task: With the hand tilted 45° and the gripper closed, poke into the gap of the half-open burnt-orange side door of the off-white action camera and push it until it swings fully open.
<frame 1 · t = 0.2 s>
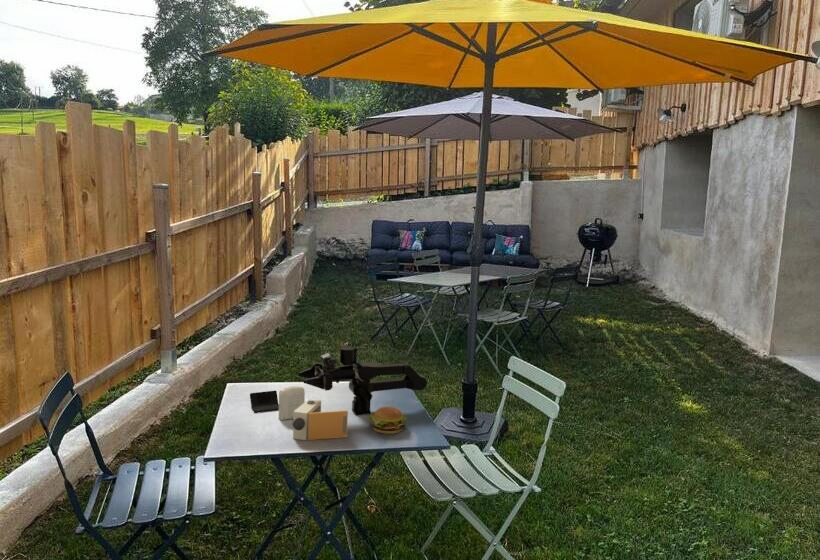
hand: (300, 377, 237), 16 cm above the table, tool horizontal, fingers open, 9 cm apart
food: (386, 429, 234), on the table
action camera: (307, 431, 228), on the table
side door: (327, 425, 221), point 5 cm above the table, hinge at 60.0°
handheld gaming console: (265, 408, 250), on the table
cream rounded slab: (291, 417, 241), on the table
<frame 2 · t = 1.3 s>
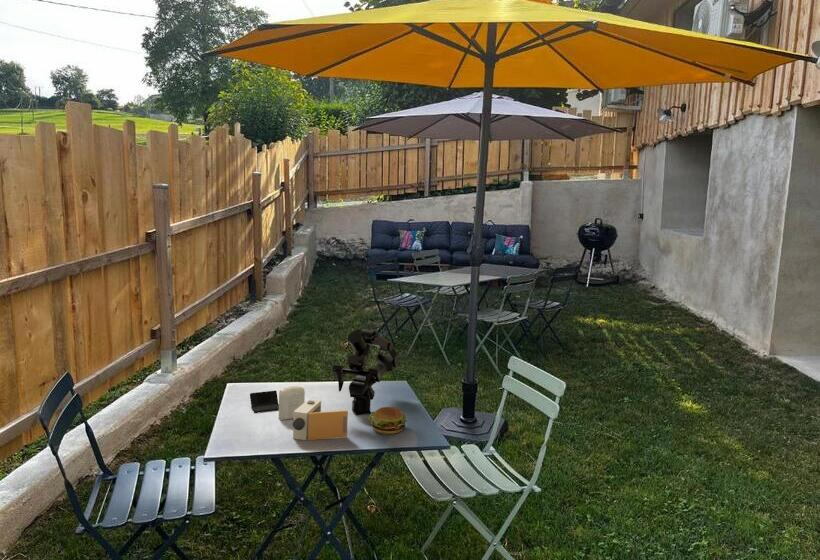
hand: (350, 392, 235), 13 cm above the table, tool tilted 45°, fingers open, 9 cm apart
nothing on the table moved.
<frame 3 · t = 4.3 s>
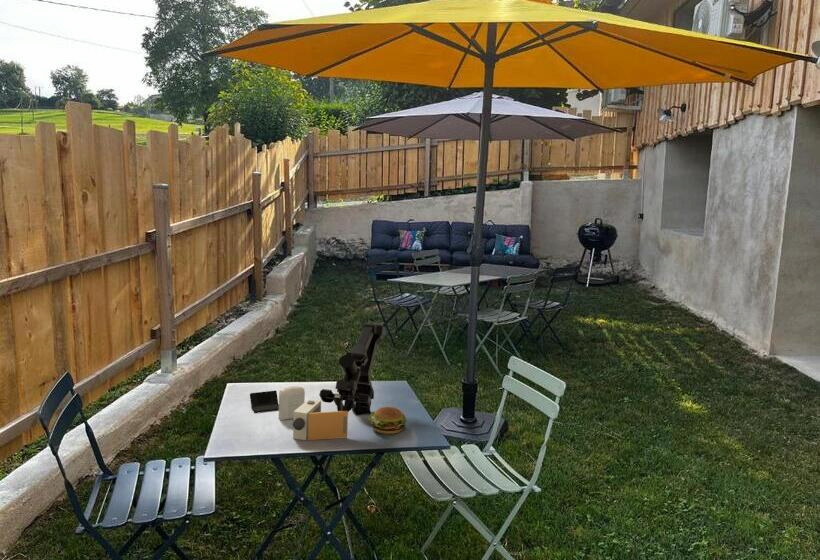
hand: (339, 419, 223), 7 cm above the table, tool tilted 45°, fingers closed
side door: (327, 425, 221), point 5 cm above the table, hinge at 61.7°, touching gripper
everything else where it was.
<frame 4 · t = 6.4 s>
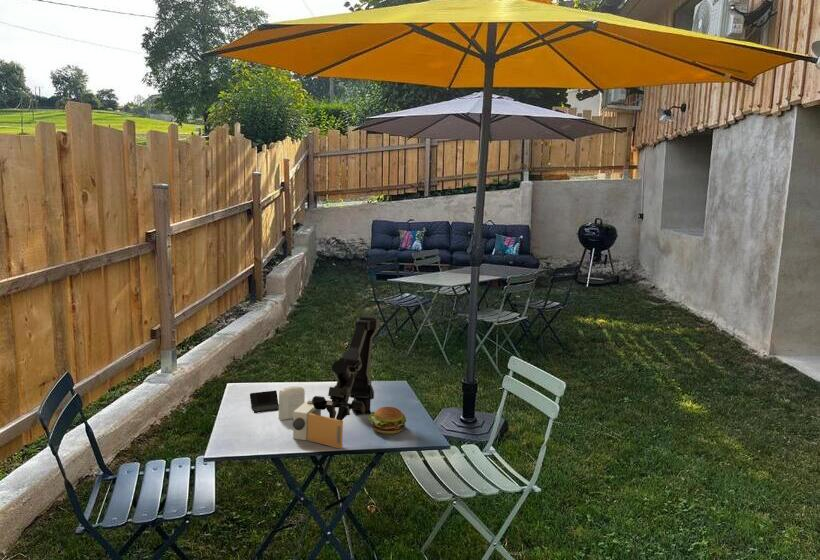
hand: (332, 427, 216), 7 cm above the table, tool tilted 45°, fingers closed
side door: (324, 430, 216), point 5 cm above the table, hinge at 102.5°, touching gripper
everything else where it was.
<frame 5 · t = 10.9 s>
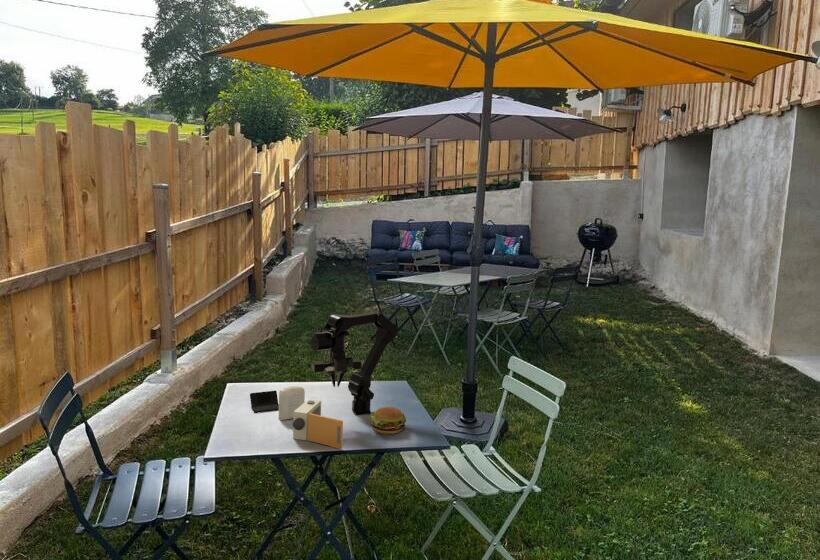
hand: (336, 386, 240), 13 cm above the table, tool pointing down, fingers closed
side door: (324, 430, 216), point 5 cm above the table, hinge at 102.5°
everything else where it was.
at the end: side door at +102° (first picture: +60°) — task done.
